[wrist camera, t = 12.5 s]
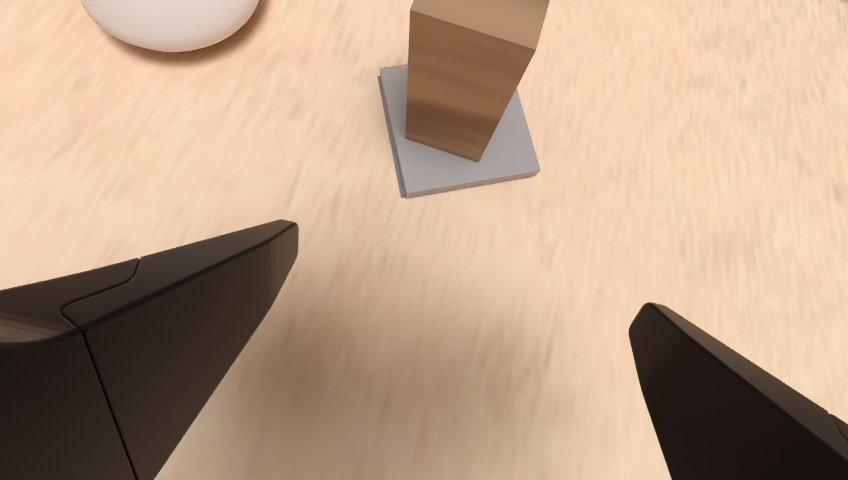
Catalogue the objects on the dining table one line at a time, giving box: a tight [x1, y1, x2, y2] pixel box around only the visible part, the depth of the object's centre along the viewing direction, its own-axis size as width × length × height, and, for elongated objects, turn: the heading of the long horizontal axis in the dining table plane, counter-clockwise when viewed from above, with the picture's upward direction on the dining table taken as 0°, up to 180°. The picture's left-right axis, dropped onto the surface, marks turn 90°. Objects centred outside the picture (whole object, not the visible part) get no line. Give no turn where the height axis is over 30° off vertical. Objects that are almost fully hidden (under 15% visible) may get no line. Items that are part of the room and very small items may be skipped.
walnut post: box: [405, 0, 550, 162], centre depth 19 cm, size 5×5×10 cm
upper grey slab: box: [380, 65, 540, 198], centre depth 25 cm, size 9×9×1 cm
